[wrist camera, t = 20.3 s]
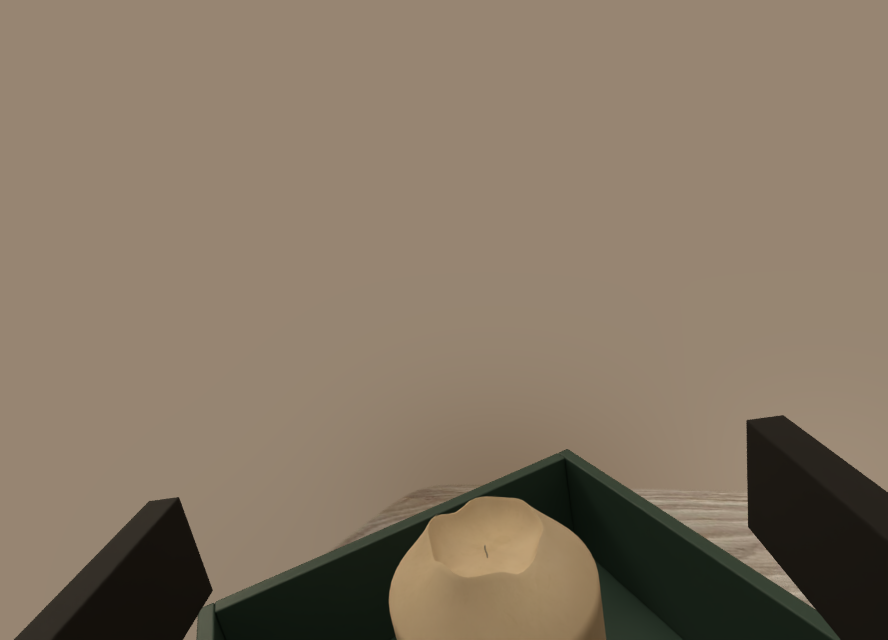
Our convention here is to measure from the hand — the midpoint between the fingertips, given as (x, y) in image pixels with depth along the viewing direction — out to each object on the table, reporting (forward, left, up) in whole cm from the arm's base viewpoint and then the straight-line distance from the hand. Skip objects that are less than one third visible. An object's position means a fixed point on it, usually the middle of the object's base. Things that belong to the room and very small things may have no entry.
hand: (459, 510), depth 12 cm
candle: (+1, +1, -12) cm, 12 cm away
